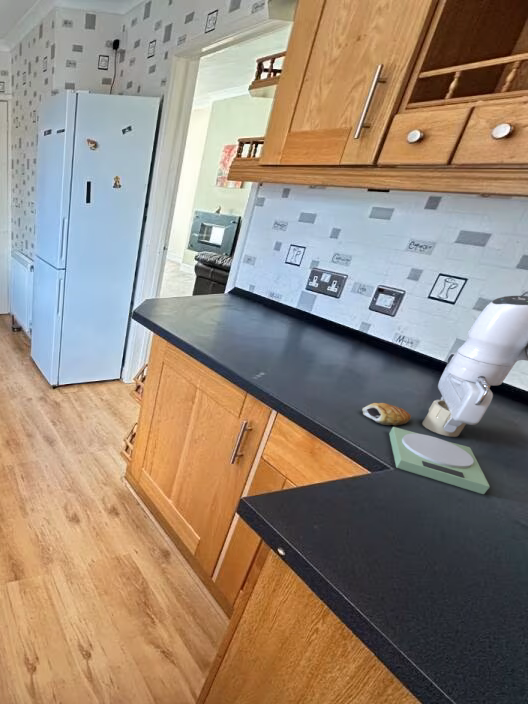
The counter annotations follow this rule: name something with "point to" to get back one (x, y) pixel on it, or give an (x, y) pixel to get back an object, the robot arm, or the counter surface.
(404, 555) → the counter surface
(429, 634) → the counter surface
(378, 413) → the pastry
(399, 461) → the scale
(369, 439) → the counter surface
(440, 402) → the cream hollow cylinder
